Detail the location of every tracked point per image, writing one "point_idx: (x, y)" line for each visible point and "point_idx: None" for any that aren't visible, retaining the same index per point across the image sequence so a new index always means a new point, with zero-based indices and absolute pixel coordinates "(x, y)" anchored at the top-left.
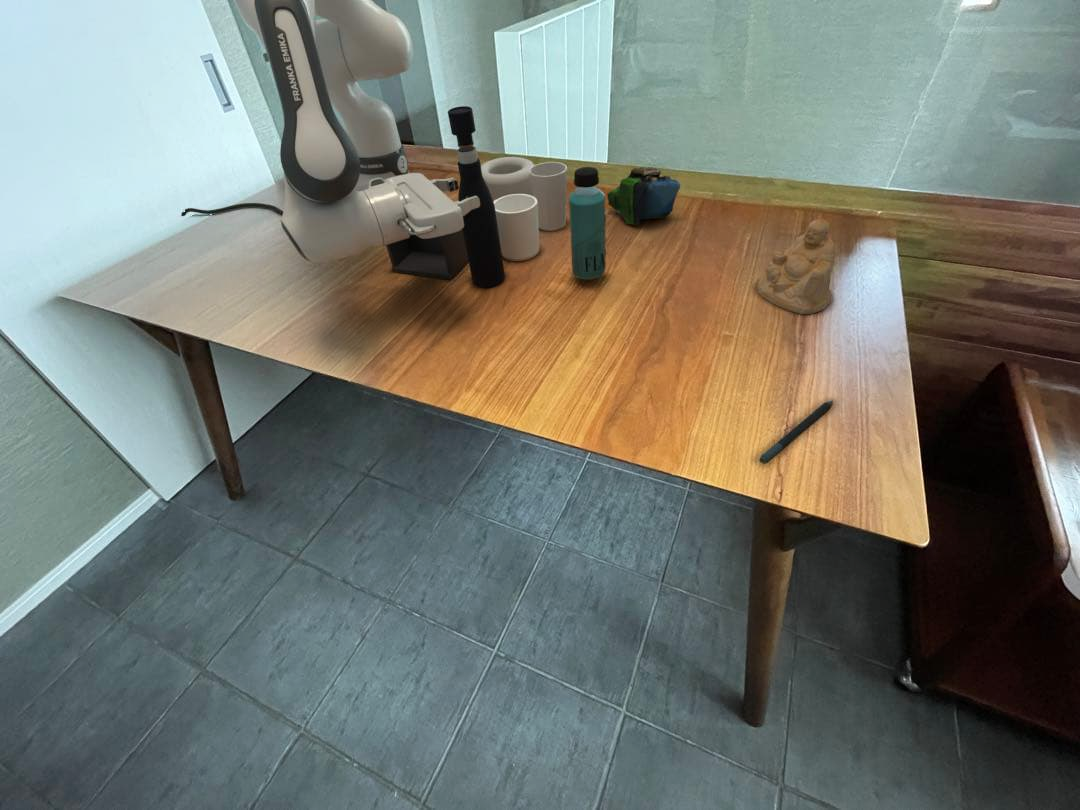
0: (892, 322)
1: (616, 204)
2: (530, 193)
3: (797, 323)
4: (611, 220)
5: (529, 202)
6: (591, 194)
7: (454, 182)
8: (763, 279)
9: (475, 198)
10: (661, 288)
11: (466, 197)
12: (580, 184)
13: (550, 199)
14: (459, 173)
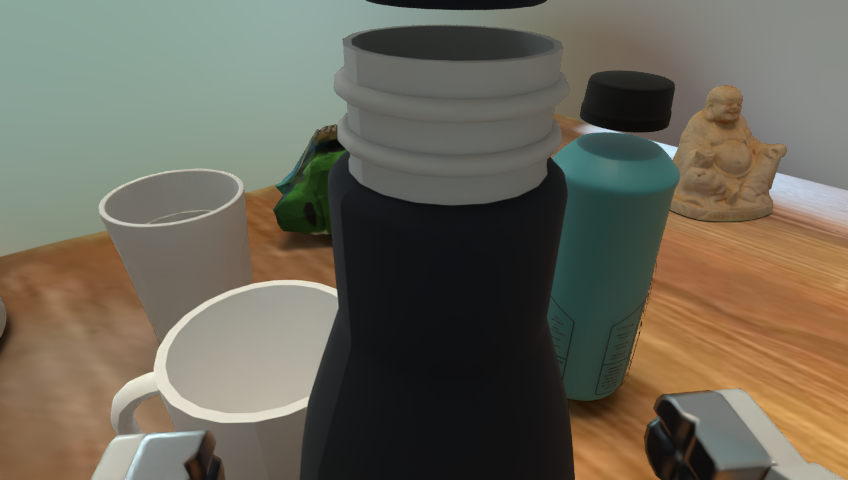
0: (789, 177)
1: (315, 220)
2: (4, 318)
3: (798, 224)
4: (321, 257)
5: (259, 309)
6: (652, 145)
7: (203, 464)
8: (693, 199)
9: (757, 412)
10: (659, 296)
11: (734, 471)
12: (665, 119)
13: (237, 275)
14: (410, 330)
